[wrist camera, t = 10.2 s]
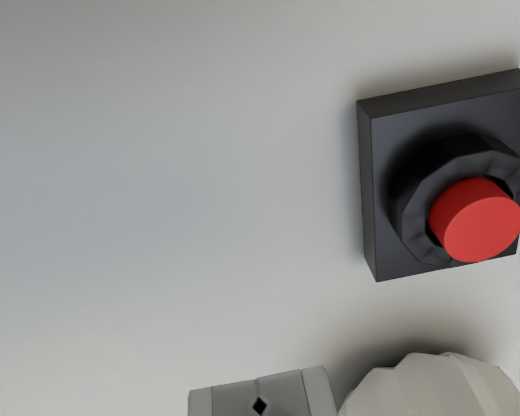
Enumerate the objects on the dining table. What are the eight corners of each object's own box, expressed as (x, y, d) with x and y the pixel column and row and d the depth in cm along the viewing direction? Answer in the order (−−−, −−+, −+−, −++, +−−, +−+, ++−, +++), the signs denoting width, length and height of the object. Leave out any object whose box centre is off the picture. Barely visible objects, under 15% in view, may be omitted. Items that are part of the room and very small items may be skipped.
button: (429, 185, 22) (445, 206, 20) (506, 169, 22) (529, 189, 20) (426, 246, 24) (441, 269, 22) (497, 232, 24) (517, 254, 22)
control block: (356, 100, 23) (383, 135, 20) (519, 67, 23) (573, 96, 20) (364, 258, 28) (386, 305, 25) (495, 231, 28) (535, 275, 25)
